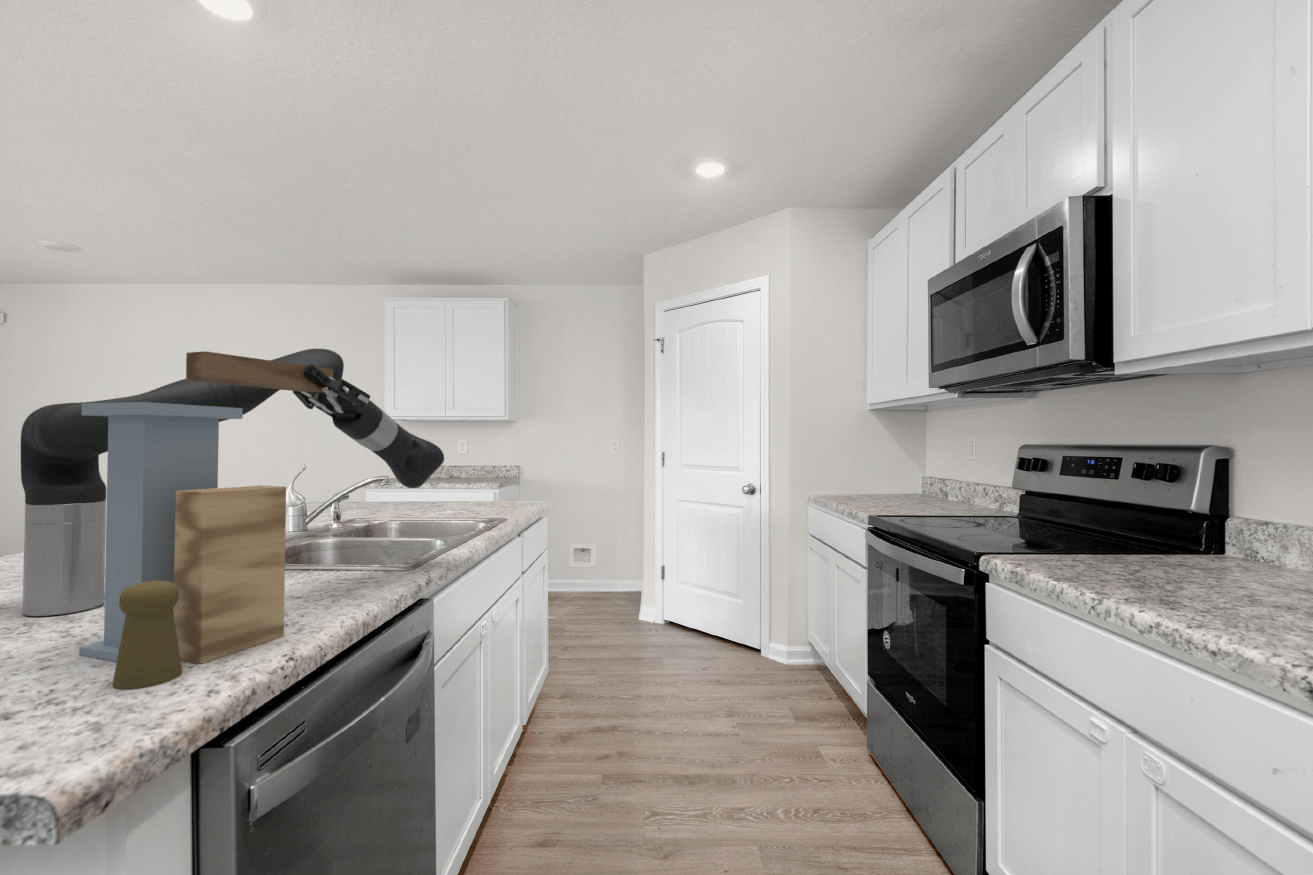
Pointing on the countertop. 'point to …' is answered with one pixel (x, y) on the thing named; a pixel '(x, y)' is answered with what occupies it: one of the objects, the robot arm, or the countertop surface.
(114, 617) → the blue grey stand
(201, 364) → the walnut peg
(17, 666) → the countertop surface
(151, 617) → the cork
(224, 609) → the oak post
